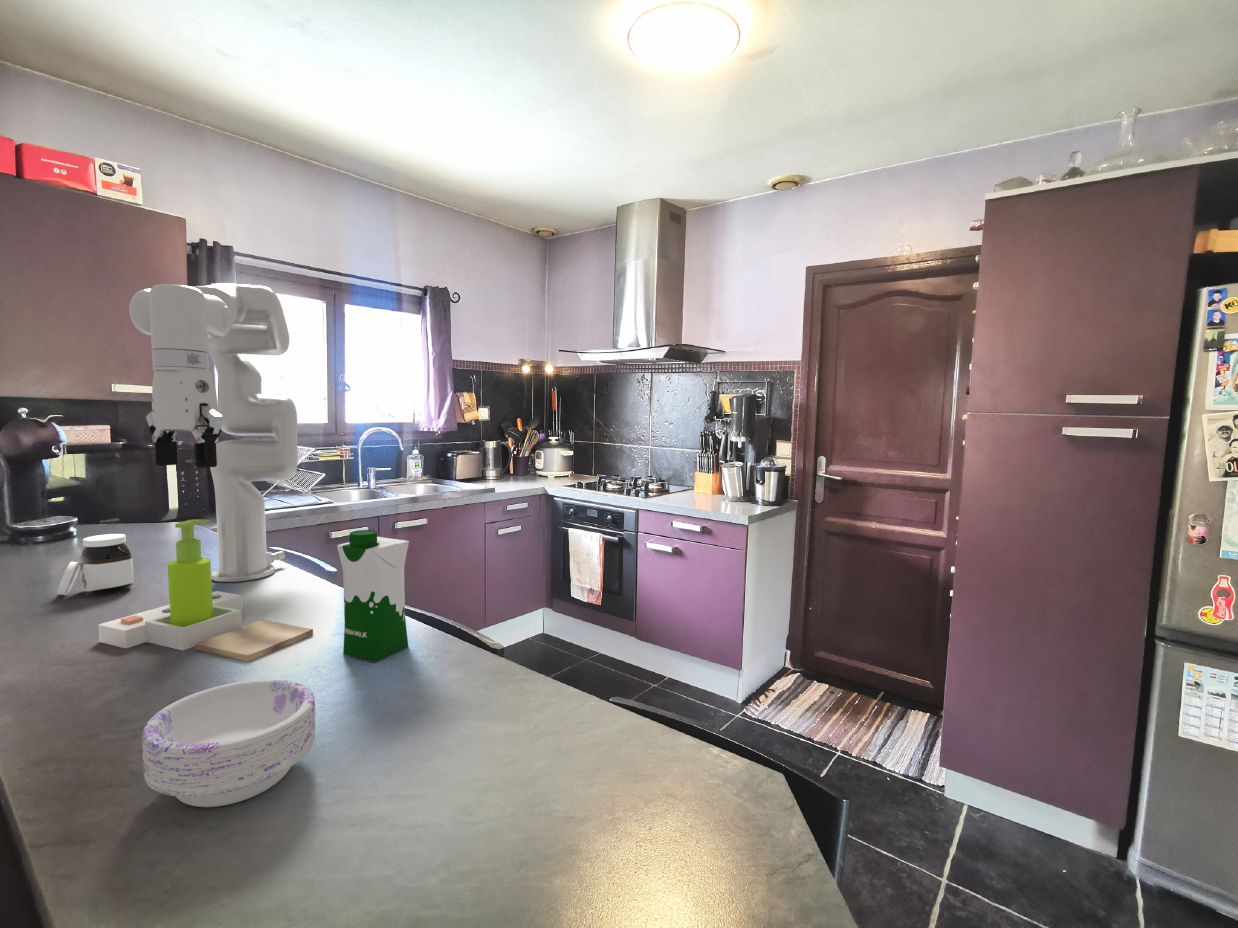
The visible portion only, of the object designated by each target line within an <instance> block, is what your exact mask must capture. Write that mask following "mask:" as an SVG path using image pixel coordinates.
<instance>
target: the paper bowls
mask: <svg viewBox="0 0 1238 928" xmlns="http://www.w3.org/2000/svg"><path fill="white" fill-rule="evenodd" d="M315 738H316V697H315V694H314V692H313V691H312V690H311V689H310V688H309V687H307V686H306V685H305V684H302V683H300V682H296V681H292V680H285V679H284V680H283V679H276V678H275V679H274V678H273V679H272V678H271V679H252V680H244V681H237V682H230V683H227V684H222V685H219V686H218V685H217V686H213V687H211V688H207V689H204V690H203V689H202V690H201V691H197V692H195V693H192V694H189V695H187V696H185V697H181V698H180V699H178V700H176V701H174V702H172V703H171V704H168V705H167V706H165V707H164V708H161V709H160V710H159V711H157V712H156V713H155V714H154V715H153V716H152V717H150V719H149V720H148V721H147V722H146V723H145V726H144V727H143V730H142V735H141V742H142V743H141V746H142V764H143V765H142V769H143V777H144V780H145V783H146V785H147V786H148V787H149V788H150V789H152V791H155V792H156V793H160V794H164V795H167V796H171V797H175V798H176V799H178V800H179V801H180V802H182V803H183V804H186V805H189V806H193V807H199V808H214V807H215V808H217V807H222V806H229V805H233V804H235V803H240V802H242V801H245V800H249V799H251V798H253V797H256V796H257V795H260V794H261V793H264V792H265V791H267V790H268V789H271V787H273V786H275V785H276V784H277V783H278V782H280V781H281V780H282V779H283V777H284V776H286V775H287V773H288V772H289V771H290V769H291V768H292V767H293V766H294V765H296V764H297V763H298V762H300V761H301V760H303V758H304V757H305V756H306V755H308V753H309V752H310V750H311V748H312V746H313V745H314V742H315Z"/></svg>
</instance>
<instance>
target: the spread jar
mask: <svg viewBox="0 0 1238 928" xmlns="http://www.w3.org/2000/svg"><path fill="white" fill-rule="evenodd" d="M126 541H127V537H126V534H124V533H109V534H108V533H107V534H98V535H92V536H87V537H85V538H83V539H82V545H83V548H82V550H81V552H80V554H79V558H78V559H79V561H70V562H69V563H68V566H67V567H66V569H65V571H64V572H63V575H62V577H61V579H60V583H59V585H58V588H57V595H60V596H61V595H62V596H68V594H69V593H70V591H71V589H72V588H73V585H74V583H75V581H76V579H77V576H78V573H79V575H80V584H81V589H82V591H83V593H84V594H85V595H86V596H89V597H100V595H104V596H109V594H111V595H116V594H119V593H118V592H120V593H123V592H126V591H128V590H130V589H131V588H132V586H133V584H134V566H133V564H134V563H133V555H132V552H131V549H130V548H129V546H128V545H127V543H126ZM125 590H126V591H125ZM115 593H116V594H115Z"/></svg>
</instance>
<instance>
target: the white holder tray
mask: <svg viewBox="0 0 1238 928" xmlns="http://www.w3.org/2000/svg"><path fill="white" fill-rule="evenodd" d="M243 600H244V599H243V594H235V593H232V592H231V593H230V592H225V591H220V590H217V591H212V603H213V618H211V619H208V620H204V621H201V622H198V623H195V624H192V625H189V626H186V627H180V626H175V625H171V618H170V603H169V604H166V605H163V606H160V607H157V608H151V609H149V610H145V611H143V612H142V611H141V612H138V613H134V614H131V615H127V616H124V617H120V618H117V619H113V620H110V621H105V622H103V623H99V624H98V630H97V631H98V642H99V643H102V644H107V645H110V646H114V647H117V648H122V649H130V648H132V647H135V646H139V645H141V644H144V643H149V644H153V645H157V646H161V647H165V648H171V649H175V650H179V651H183V652H184V651H186V650H189V649H192V648H195V644H196V643H199V642H201V641H204V640H207V639H210V638H213V637H216V636H218V635H221V634H224V633H227V632H230V631H233V630H235V629H238V628H241V627H243V617H242V616H243V615H242V612H243V611H244V605H243V602H244V601H243Z"/></svg>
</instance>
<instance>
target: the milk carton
mask: <svg viewBox="0 0 1238 928" xmlns="http://www.w3.org/2000/svg"><path fill="white" fill-rule="evenodd" d="M348 535H349V539H348V540H349V542H344V543H341V544H340V543H339V544H338V545H337V553H338V556H339V559H340V564H341V568H342V574H343V575H342V576H343V577H342V578H343V609H344V611H343V614H344V627H343V628H344V631H343V652H342V653H343V655H345V656H348V657H352V658H357V659H360V660H364V661H368V662H371V663H376V662H379V661H381V660H383V659H385V658H387V657H389V656H391V655H393V654H396V653H398V652H399V651H402V650H405V649H406V648H408V647H409V640H408V631H407V623H406V602H405V601H406V599H405V598H406V597H405V595H406V594H405V563H406V558H407V554H408V553H407V552H408V548H409V544H410V540H405V539H396V538H389V537H383V536H382V537H381V536H378V531H377V530H374V529H361V530H360V529H359V530H354V531H350V532H349V534H348Z"/></svg>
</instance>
